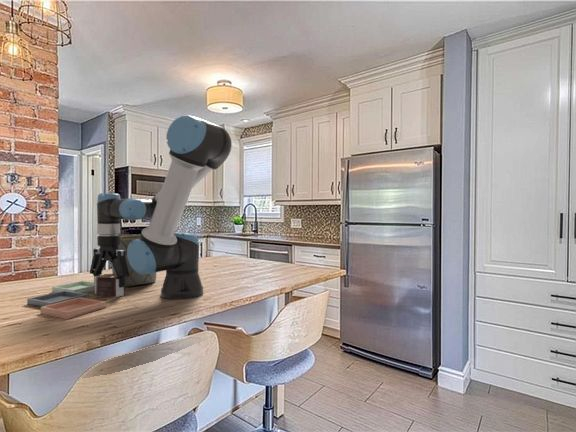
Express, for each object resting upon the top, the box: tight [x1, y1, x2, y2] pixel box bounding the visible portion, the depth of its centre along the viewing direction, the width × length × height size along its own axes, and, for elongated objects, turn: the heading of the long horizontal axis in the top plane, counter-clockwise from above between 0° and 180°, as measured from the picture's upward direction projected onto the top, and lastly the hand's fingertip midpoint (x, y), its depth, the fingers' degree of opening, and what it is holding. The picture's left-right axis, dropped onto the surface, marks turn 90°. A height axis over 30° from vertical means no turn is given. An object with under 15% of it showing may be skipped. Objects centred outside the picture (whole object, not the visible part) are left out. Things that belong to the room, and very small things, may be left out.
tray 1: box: [26, 291, 89, 308], centre depth 114 cm, size 12×12×2 cm
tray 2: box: [51, 280, 95, 294], centre depth 131 cm, size 12×12×2 cm
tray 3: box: [40, 297, 107, 320], centre depth 105 cm, size 12×12×2 cm
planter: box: [111, 234, 157, 288], centre depth 145 cm, size 19×19×20 cm
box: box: [97, 273, 121, 298], centre depth 124 cm, size 6×6×7 cm
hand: (109, 294), depth 124 cm, fingers open, 10 cm apart
